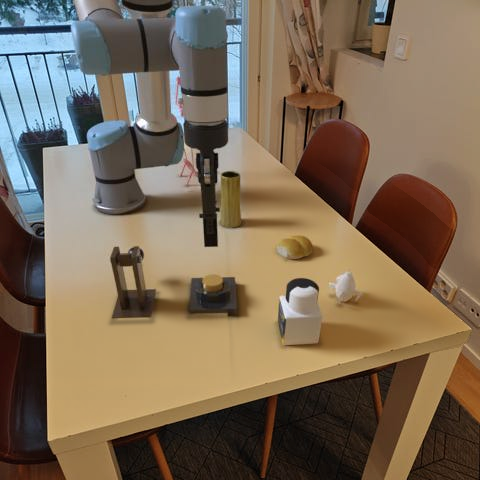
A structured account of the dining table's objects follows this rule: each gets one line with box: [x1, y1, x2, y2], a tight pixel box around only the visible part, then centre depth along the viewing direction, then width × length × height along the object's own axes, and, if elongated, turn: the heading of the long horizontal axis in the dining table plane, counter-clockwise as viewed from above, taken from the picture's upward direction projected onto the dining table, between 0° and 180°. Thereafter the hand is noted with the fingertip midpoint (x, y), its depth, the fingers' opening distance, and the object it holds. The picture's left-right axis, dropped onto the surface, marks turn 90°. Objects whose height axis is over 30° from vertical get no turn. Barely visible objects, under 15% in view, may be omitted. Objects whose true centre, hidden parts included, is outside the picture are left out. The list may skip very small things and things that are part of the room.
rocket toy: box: [328, 270, 363, 305], centre depth 94 cm, size 5×5×8 cm
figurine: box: [174, 75, 219, 193], centre depth 140 cm, size 15×26×35 cm, turn 19°
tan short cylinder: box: [202, 273, 223, 292], centre depth 93 cm, size 4×4×2 cm
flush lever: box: [119, 246, 145, 268], centre depth 91 cm, size 13×4×4 cm, turn 3°
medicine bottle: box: [277, 277, 323, 346], centre depth 84 cm, size 7×7×12 cm
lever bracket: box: [109, 245, 156, 319], centre depth 89 cm, size 10×8×14 cm
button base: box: [188, 276, 238, 317], centre depth 95 cm, size 12×10×4 cm
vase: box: [220, 170, 242, 229], centre depth 120 cm, size 6×6×14 cm
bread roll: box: [276, 234, 314, 260], centre depth 111 cm, size 8×9×4 cm
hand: (211, 244), depth 87 cm, fingers closed
